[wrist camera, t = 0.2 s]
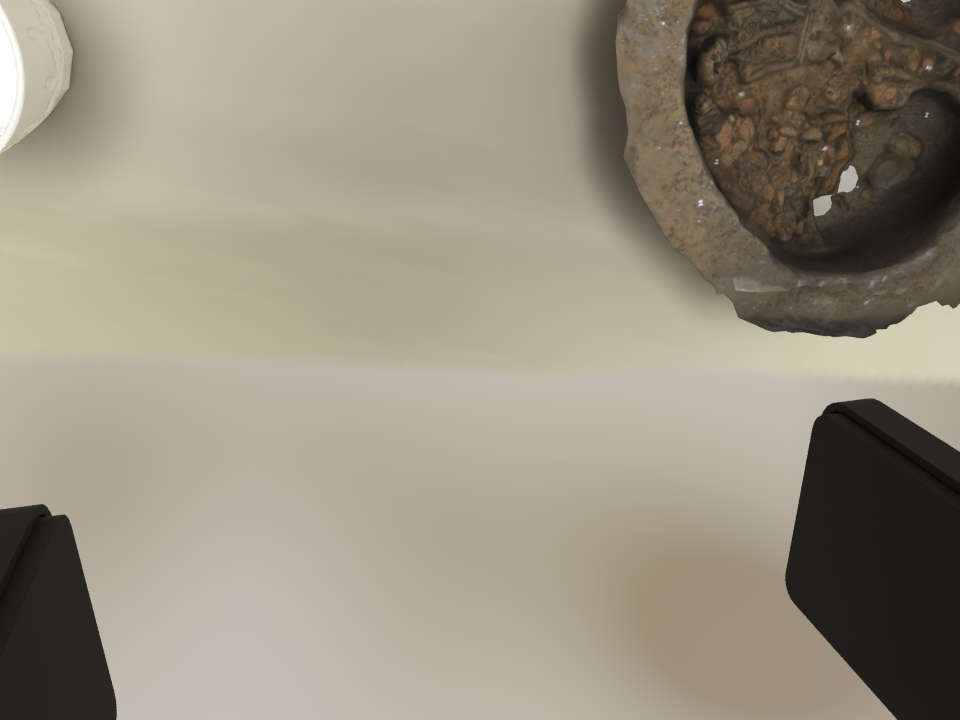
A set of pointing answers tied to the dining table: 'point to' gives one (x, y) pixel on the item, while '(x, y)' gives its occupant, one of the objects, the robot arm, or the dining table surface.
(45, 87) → the white cup
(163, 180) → the dining table surface
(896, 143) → the stone bowl
